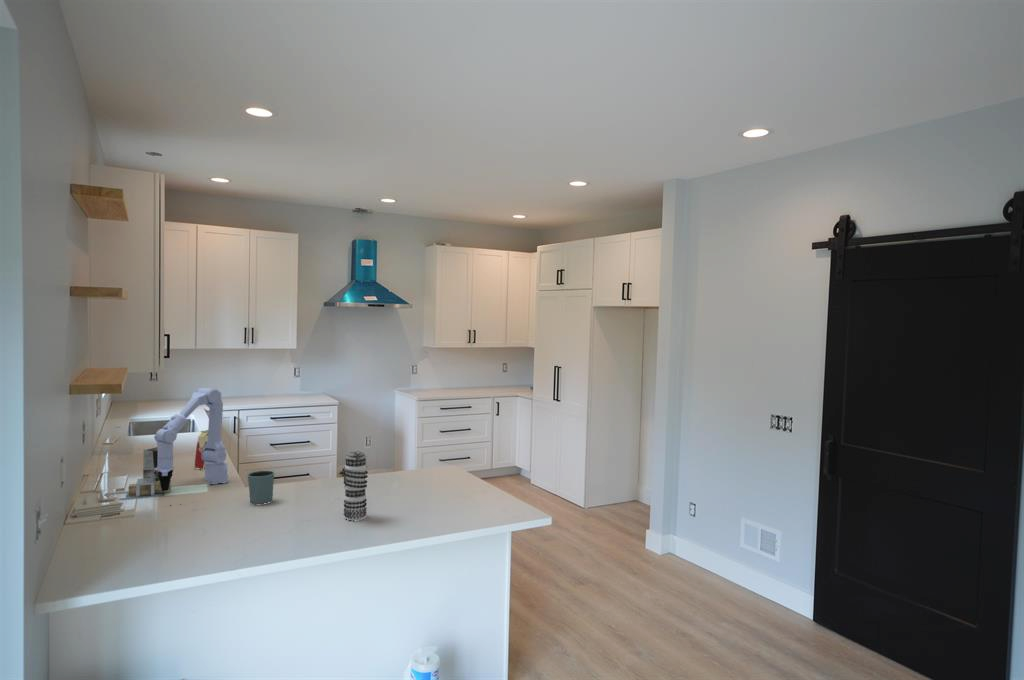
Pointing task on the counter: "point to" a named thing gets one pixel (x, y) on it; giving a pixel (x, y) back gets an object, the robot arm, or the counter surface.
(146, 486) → the oak bar
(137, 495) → the tunnel
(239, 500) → the counter surface
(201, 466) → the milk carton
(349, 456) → the striped cylindrical tower
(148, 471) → the coffee box
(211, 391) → the robot arm
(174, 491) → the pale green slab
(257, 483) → the green cup
